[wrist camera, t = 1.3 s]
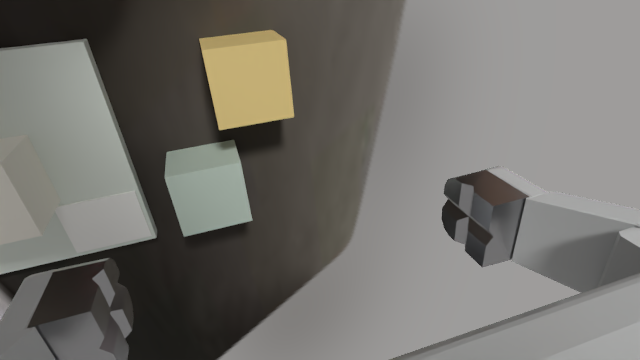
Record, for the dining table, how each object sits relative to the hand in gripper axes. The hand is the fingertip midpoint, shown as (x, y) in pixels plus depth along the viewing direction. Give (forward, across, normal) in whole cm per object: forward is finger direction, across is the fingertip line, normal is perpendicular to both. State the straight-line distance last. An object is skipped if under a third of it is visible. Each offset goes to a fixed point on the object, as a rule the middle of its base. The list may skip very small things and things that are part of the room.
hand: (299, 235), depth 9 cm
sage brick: (+26, +3, +10) cm, 29 cm away
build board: (+26, +18, +6) cm, 32 cm away
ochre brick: (+26, -2, +1) cm, 26 cm away
